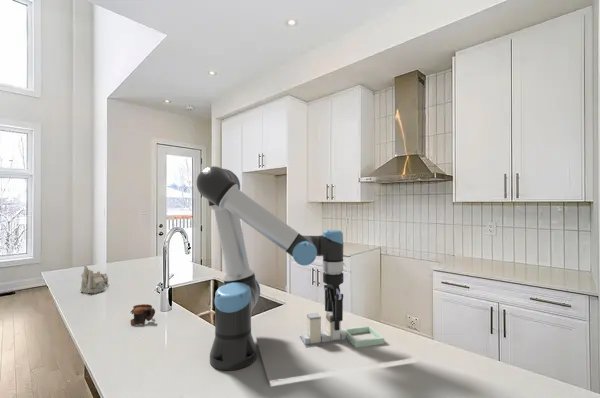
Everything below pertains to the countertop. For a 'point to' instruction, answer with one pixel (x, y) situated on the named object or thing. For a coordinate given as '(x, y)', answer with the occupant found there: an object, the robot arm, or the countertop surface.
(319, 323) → the block
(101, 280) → the ceramic cottage
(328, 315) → the block
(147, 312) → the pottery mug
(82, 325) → the countertop surface
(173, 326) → the countertop surface
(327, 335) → the block
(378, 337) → the tray
